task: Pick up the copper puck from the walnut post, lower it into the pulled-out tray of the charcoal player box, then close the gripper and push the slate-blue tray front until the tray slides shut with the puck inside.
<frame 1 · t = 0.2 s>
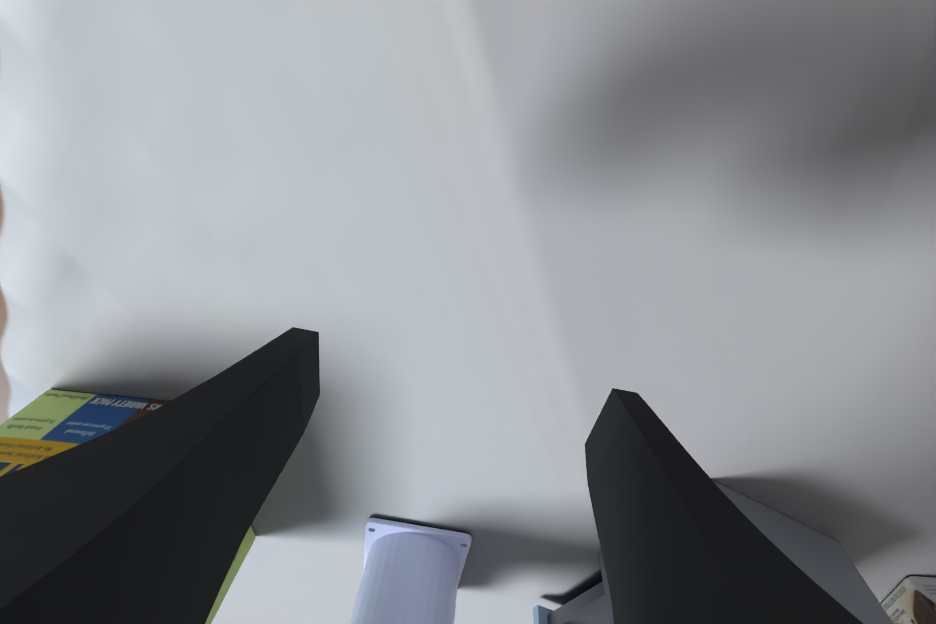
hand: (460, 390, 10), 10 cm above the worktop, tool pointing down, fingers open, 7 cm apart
protein box: (167, 468, 31), on the worktop
coffee box: (917, 603, 32), on the worktop
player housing: (711, 547, 30), on the worktop
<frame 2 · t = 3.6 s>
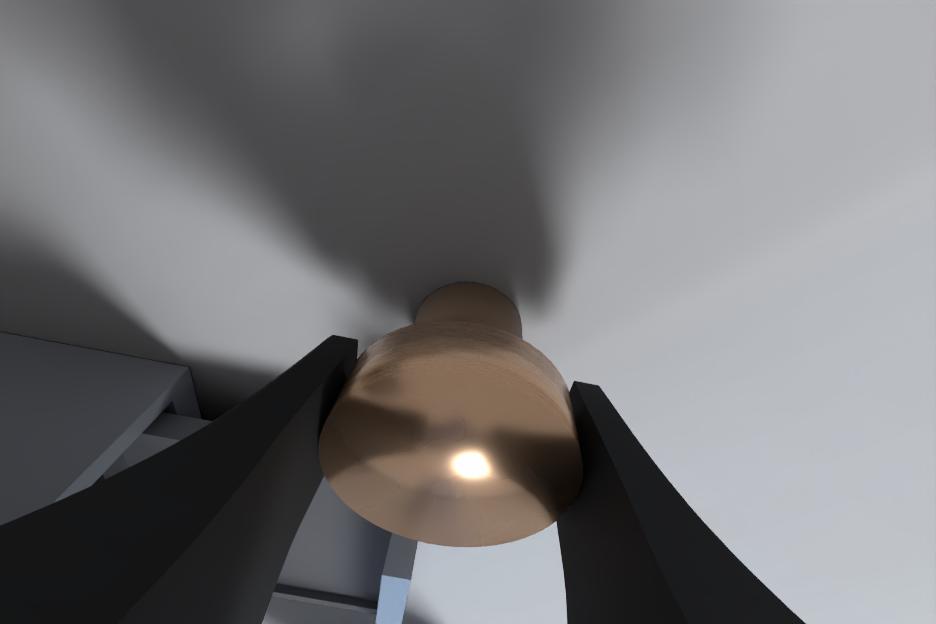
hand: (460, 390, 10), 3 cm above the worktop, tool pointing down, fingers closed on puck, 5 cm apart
post: (468, 329, 13), on the worktop
puck: (456, 414, 10), point 3 cm above the worktop, touching gripper, post
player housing: (81, 448, 17), on the worktop
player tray: (256, 562, 15), point 3 cm above the worktop, slide at 8.0 cm
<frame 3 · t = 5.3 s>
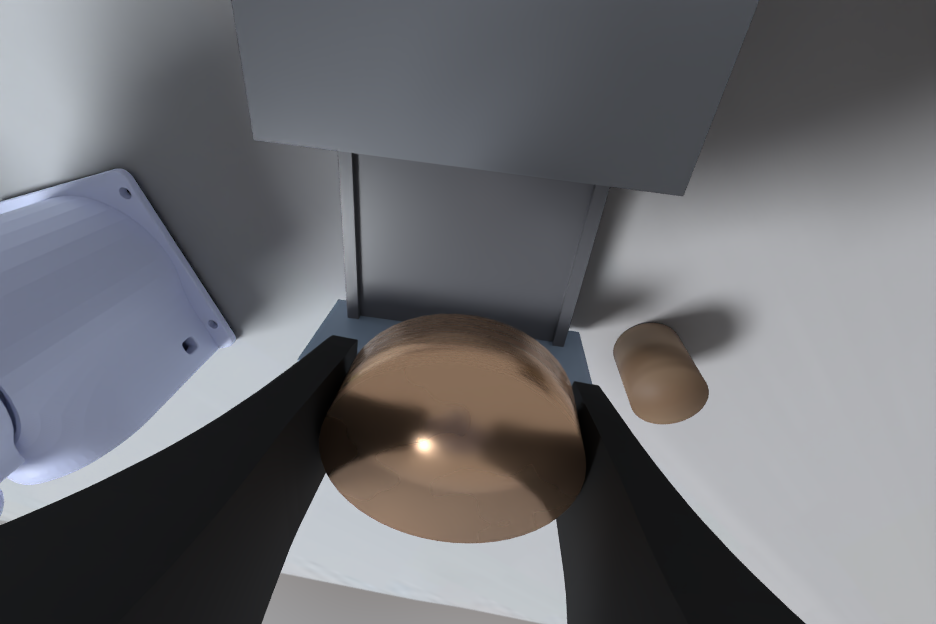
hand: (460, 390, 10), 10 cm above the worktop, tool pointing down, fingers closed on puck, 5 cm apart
post: (646, 349, 21), on the worktop
puck: (458, 409, 9), point 11 cm above the worktop, touching gripper
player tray: (464, 242, 15), point 3 cm above the worktop, slide at 8.0 cm
when the fingers open (3 cm above the worktop, at t = 7.3 s): puck drops 2 cm, resting on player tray.
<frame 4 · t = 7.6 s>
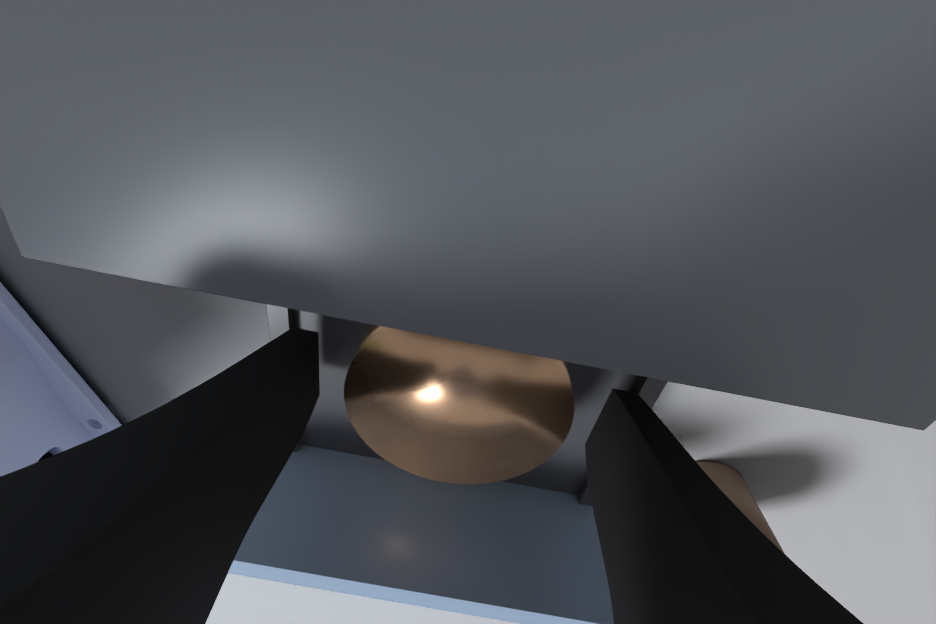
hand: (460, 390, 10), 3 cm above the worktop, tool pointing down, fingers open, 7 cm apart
post: (696, 489, 15), on the worktop
puck: (463, 366, 11), point 2 cm above the worktop, touching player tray
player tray: (462, 385, 9), point 3 cm above the worktop, slide at 8.0 cm, touching puck
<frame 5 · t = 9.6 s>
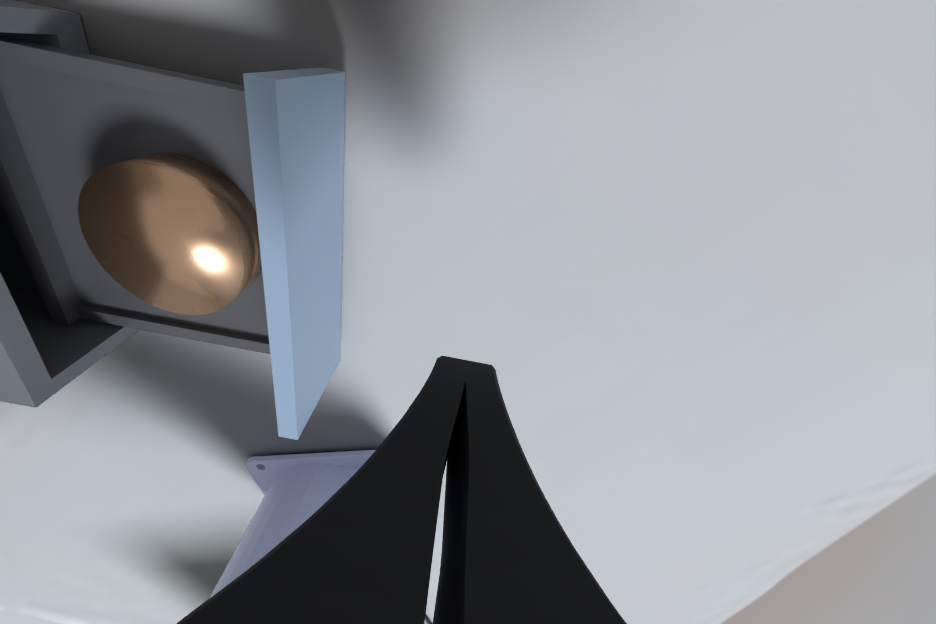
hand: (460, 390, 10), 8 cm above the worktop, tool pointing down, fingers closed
puck: (194, 229, 15), point 2 cm above the worktop, touching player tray
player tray: (156, 239, 14), point 3 cm above the worktop, slide at 8.0 cm, touching puck
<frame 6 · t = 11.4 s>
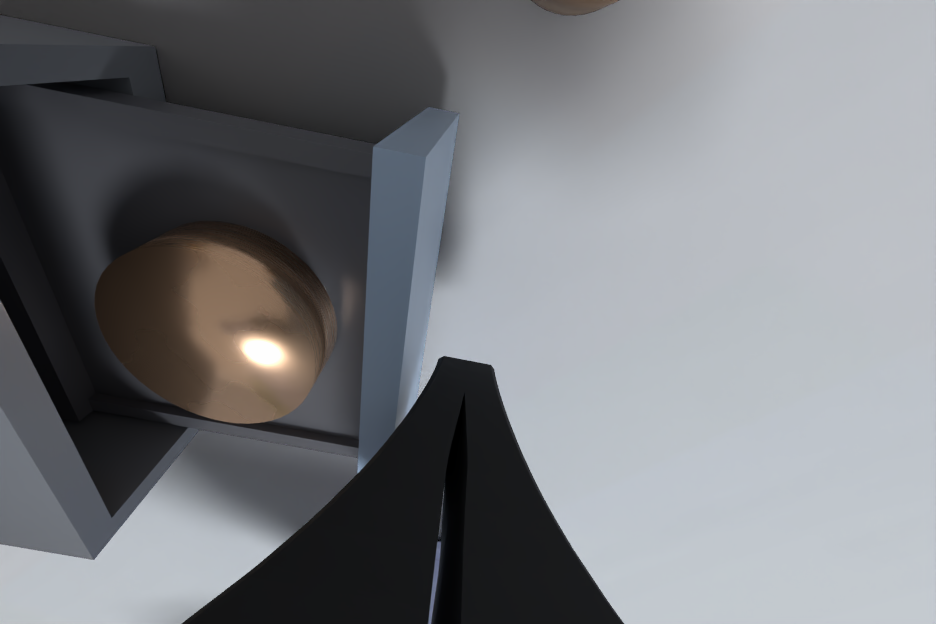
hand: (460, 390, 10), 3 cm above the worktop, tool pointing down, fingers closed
puck: (243, 312, 11), point 2 cm above the worktop, touching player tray
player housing: (18, 230, 13), on the worktop
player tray: (197, 333, 10), point 3 cm above the worktop, slide at 6.6 cm, touching gripper, puck
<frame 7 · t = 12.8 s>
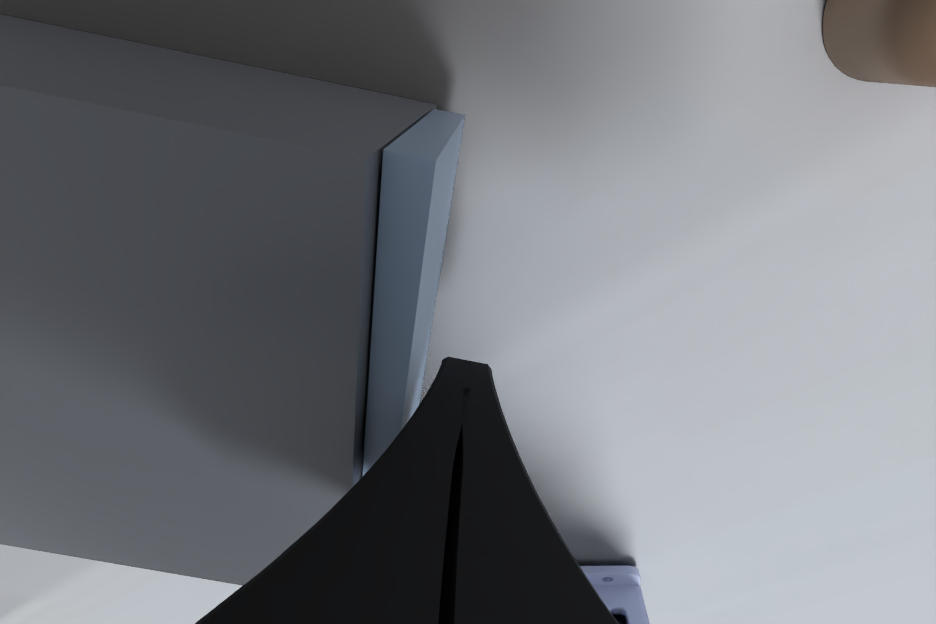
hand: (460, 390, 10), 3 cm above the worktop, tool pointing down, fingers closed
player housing: (237, 272, 13), on the worktop
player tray: (202, 334, 10), point 3 cm above the worktop, slide at 0.0 cm, touching gripper, puck
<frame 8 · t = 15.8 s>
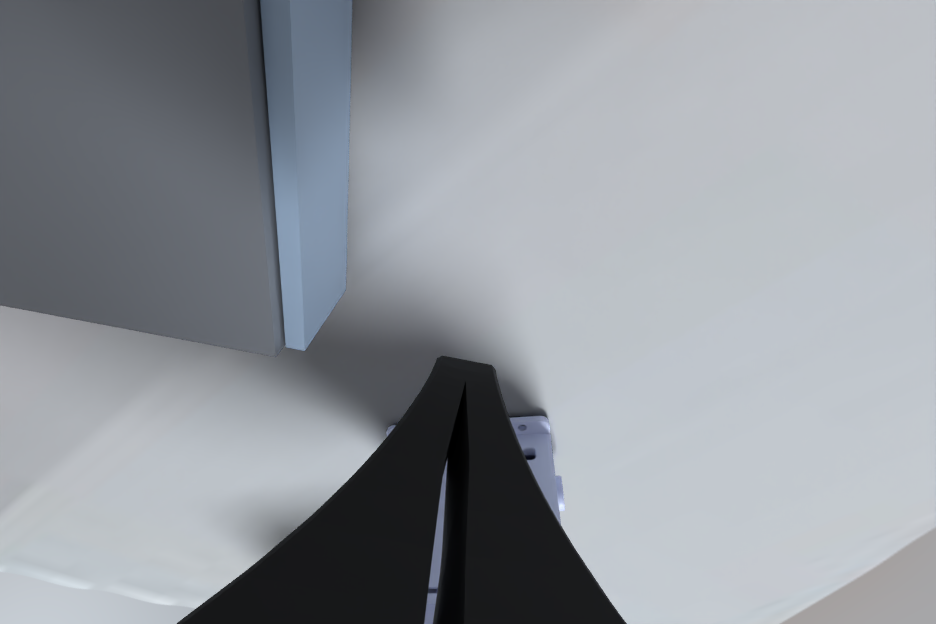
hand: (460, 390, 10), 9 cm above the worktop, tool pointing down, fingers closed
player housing: (198, 124, 16), on the worktop
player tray: (165, 143, 14), point 3 cm above the worktop, slide at 0.0 cm, touching puck
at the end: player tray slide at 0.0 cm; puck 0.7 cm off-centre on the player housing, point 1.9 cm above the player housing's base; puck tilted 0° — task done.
